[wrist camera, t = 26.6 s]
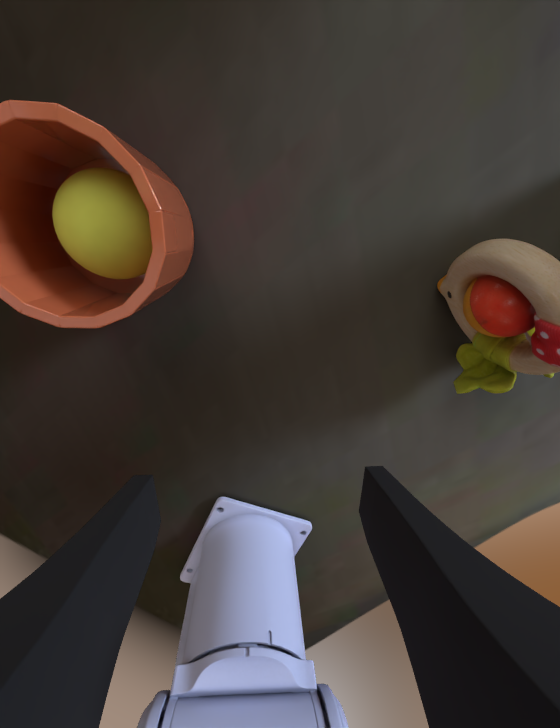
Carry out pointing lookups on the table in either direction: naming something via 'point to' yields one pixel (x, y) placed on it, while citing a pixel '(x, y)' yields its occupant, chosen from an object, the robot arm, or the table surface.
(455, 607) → the robot arm
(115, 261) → the ball
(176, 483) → the table surface
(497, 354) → the bird rattle
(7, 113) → the pot
